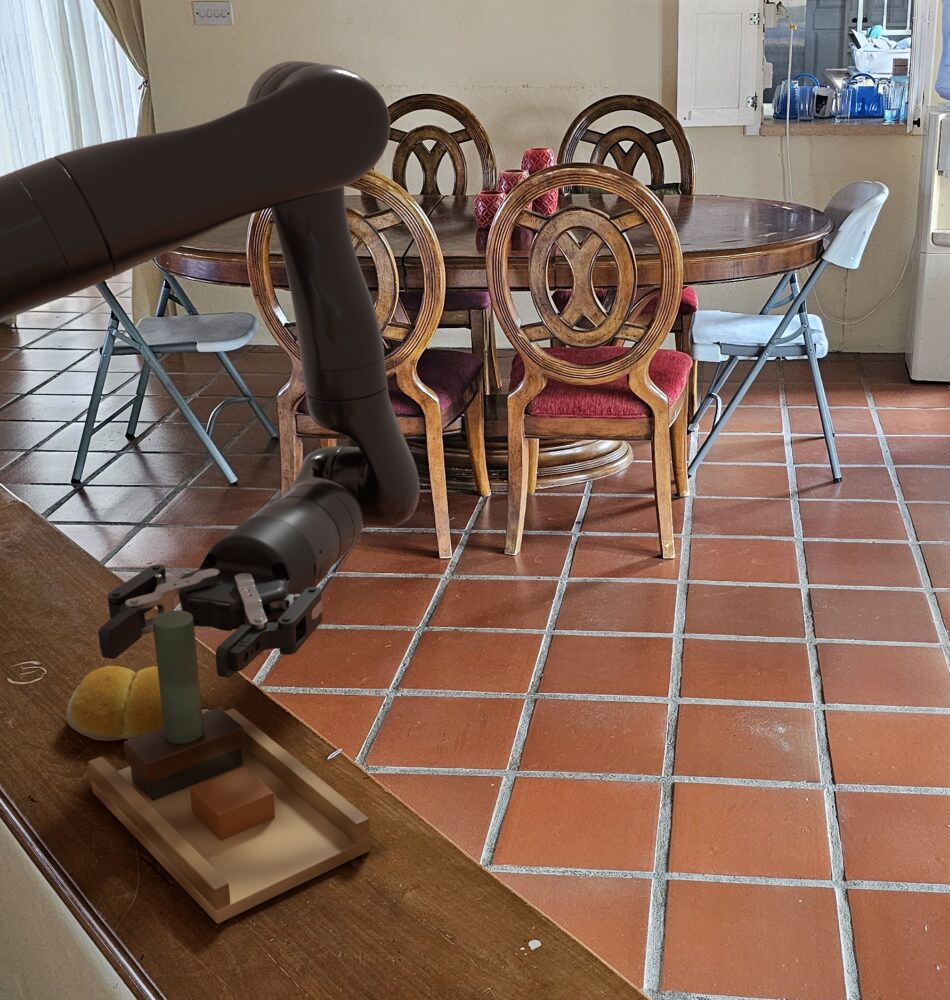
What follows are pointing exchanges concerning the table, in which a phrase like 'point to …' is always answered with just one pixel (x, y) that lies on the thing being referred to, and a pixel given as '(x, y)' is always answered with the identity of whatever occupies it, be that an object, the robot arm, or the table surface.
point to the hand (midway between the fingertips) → (162, 655)
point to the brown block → (232, 803)
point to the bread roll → (116, 704)
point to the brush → (182, 720)
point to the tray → (254, 852)
